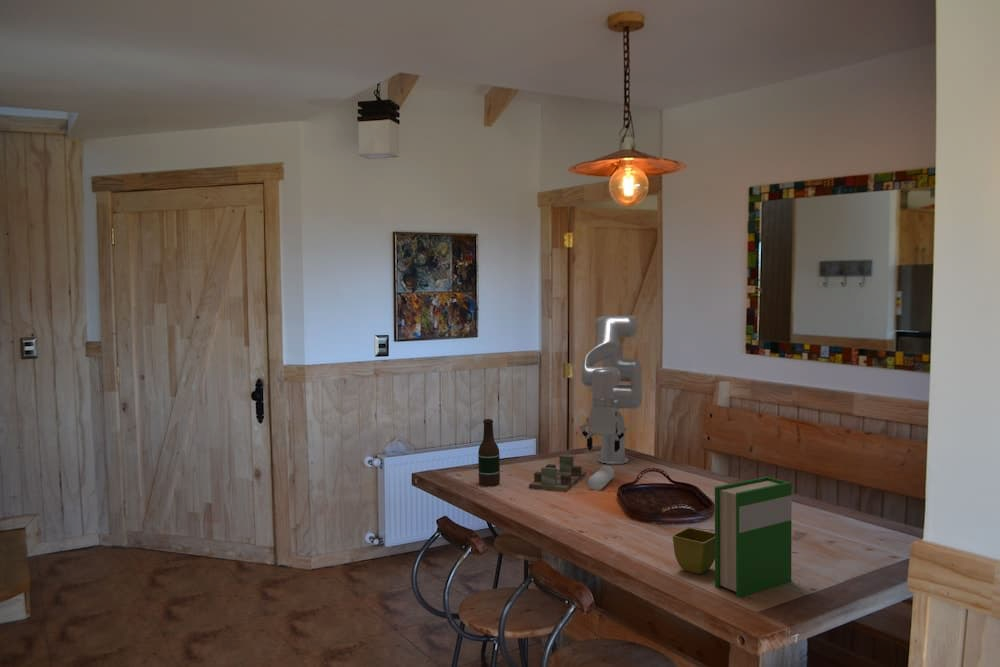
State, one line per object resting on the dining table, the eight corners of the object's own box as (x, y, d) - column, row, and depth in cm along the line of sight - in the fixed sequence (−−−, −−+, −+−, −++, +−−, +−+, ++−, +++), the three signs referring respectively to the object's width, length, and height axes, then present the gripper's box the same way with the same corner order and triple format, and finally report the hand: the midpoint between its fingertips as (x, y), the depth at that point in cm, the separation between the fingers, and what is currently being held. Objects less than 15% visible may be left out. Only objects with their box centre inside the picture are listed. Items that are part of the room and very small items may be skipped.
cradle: (551, 472, 295) (550, 453, 295) (585, 475, 290) (585, 456, 289) (528, 488, 272) (528, 468, 272) (566, 491, 267) (565, 470, 266)
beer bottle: (499, 486, 275) (498, 421, 274) (478, 487, 276) (477, 421, 274) (500, 481, 283) (499, 417, 282) (479, 481, 283) (478, 417, 282)
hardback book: (739, 597, 173) (739, 493, 172) (715, 587, 179) (714, 486, 178) (791, 581, 182) (791, 482, 181) (766, 572, 188) (766, 476, 187)
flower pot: (720, 569, 191) (720, 533, 190) (704, 579, 184) (704, 542, 184) (688, 561, 197) (688, 527, 196) (671, 570, 190) (671, 535, 190)
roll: (602, 481, 284) (597, 467, 284) (616, 478, 282) (611, 463, 282) (590, 492, 269) (586, 477, 269) (605, 488, 267) (600, 473, 267)
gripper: (629, 402, 274) (629, 449, 274) (582, 401, 280) (583, 447, 281) (624, 405, 267) (624, 453, 267) (576, 403, 273) (577, 450, 274)
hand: (603, 450), depth 274 cm, fingers open, 9 cm apart
